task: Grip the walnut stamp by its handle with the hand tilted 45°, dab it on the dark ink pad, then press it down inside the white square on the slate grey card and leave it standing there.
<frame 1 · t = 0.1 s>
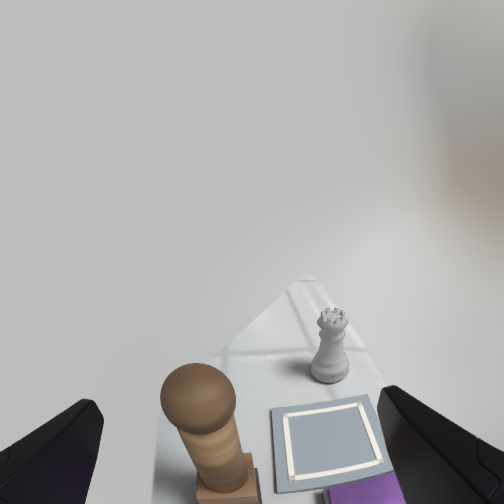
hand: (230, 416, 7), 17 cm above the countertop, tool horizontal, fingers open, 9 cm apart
rook chess piece: (329, 373, 31), on the countertop
marked card: (329, 441, 21), on the countertop
stamp: (233, 495, 17), on the countertop
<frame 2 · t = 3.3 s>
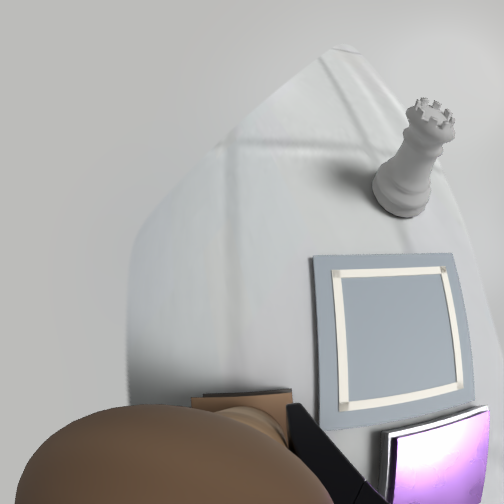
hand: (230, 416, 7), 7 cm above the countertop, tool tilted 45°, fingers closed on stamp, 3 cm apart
rook chess piece: (397, 197, 20), on the countertop
marked card: (400, 334, 15), on the countertop
ink pad: (431, 472, 10), on the countertop
stamp: (251, 431, 13), on the countertop, touching gripper
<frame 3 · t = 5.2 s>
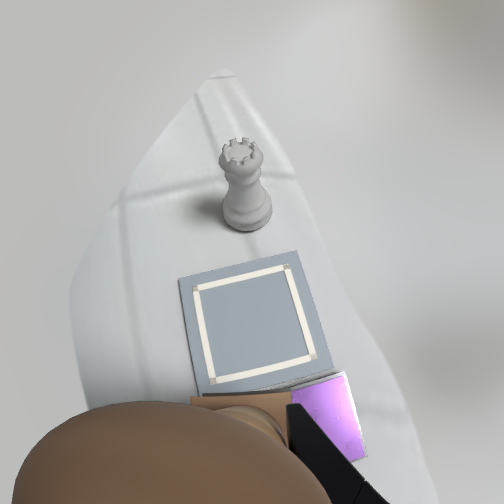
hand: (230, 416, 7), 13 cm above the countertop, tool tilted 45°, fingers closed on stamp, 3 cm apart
rook chess piece: (248, 214, 27), on the countertop
marked card: (251, 323, 22), on the countertop
ink pad: (307, 428, 18), on the countertop
stamp: (250, 431, 13), point 6 cm above the countertop, touching gripper
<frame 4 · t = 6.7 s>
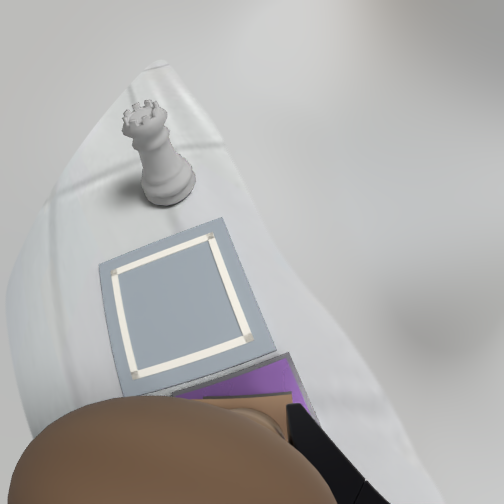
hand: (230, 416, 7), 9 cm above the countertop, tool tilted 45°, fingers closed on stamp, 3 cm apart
rook chess piece: (171, 188, 23), on the countertop
marked card: (174, 305, 18), on the countertop
ink pad: (253, 429, 15), on the countertop
stamp: (251, 434, 13), point 2 cm above the countertop, touching gripper, ink pad
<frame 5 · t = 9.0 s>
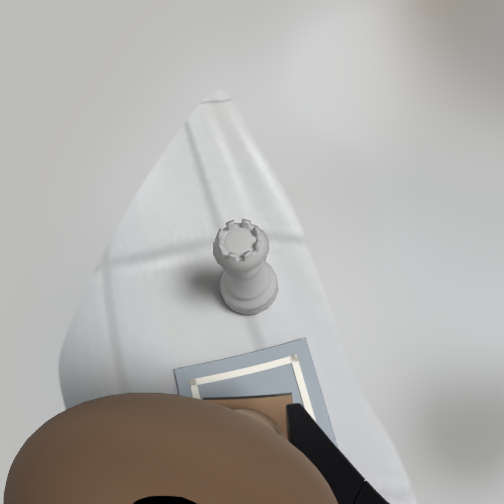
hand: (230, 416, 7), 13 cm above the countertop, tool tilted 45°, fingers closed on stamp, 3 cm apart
rook chess piece: (250, 290, 23), on the countertop
marked card: (256, 420, 18), on the countertop
stamp: (251, 435, 13), point 6 cm above the countertop, touching gripper
when the fingers open (7 cm above the countertop, at t = 10.4 s): stamp stays where it is, resting on marked card.
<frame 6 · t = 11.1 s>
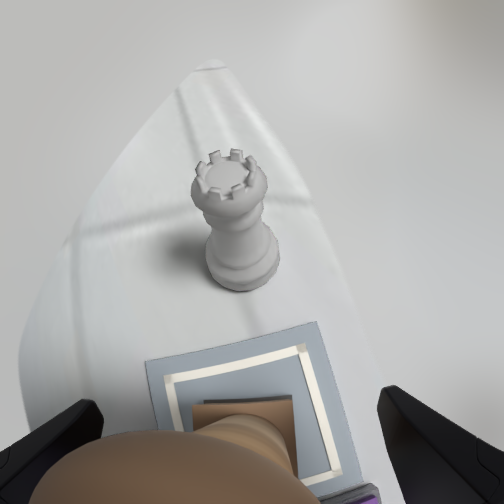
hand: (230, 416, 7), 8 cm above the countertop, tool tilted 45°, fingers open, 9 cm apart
rook chess piece: (244, 261, 18), on the countertop
marked card: (251, 430, 13), on the countertop
stamp: (251, 437, 13), resting on marked card
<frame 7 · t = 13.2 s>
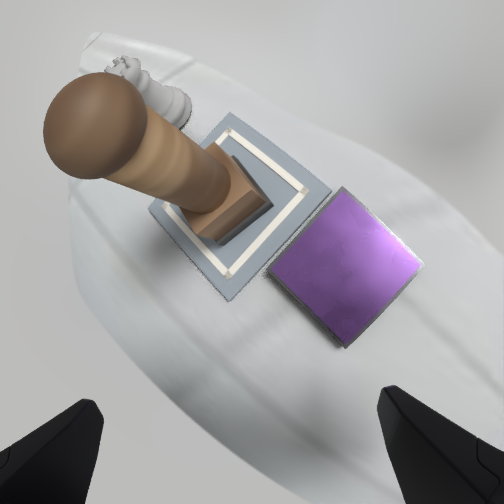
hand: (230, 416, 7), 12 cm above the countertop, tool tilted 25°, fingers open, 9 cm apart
rook chess piece: (173, 116, 23), on the countertop
marked card: (230, 199, 21), on the countertop
ink pad: (346, 267, 18), on the countertop
stamp: (231, 201, 20), resting on marked card
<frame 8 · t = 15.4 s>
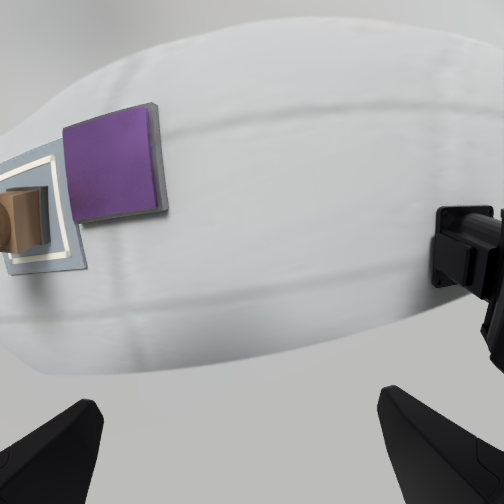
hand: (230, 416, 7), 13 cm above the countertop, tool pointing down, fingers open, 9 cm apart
marked card: (31, 213, 19), on the countertop
ink pad: (115, 165, 18), on the countertop
stamp: (30, 213, 18), resting on marked card
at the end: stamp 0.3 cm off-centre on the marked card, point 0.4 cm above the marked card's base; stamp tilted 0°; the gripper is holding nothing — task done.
